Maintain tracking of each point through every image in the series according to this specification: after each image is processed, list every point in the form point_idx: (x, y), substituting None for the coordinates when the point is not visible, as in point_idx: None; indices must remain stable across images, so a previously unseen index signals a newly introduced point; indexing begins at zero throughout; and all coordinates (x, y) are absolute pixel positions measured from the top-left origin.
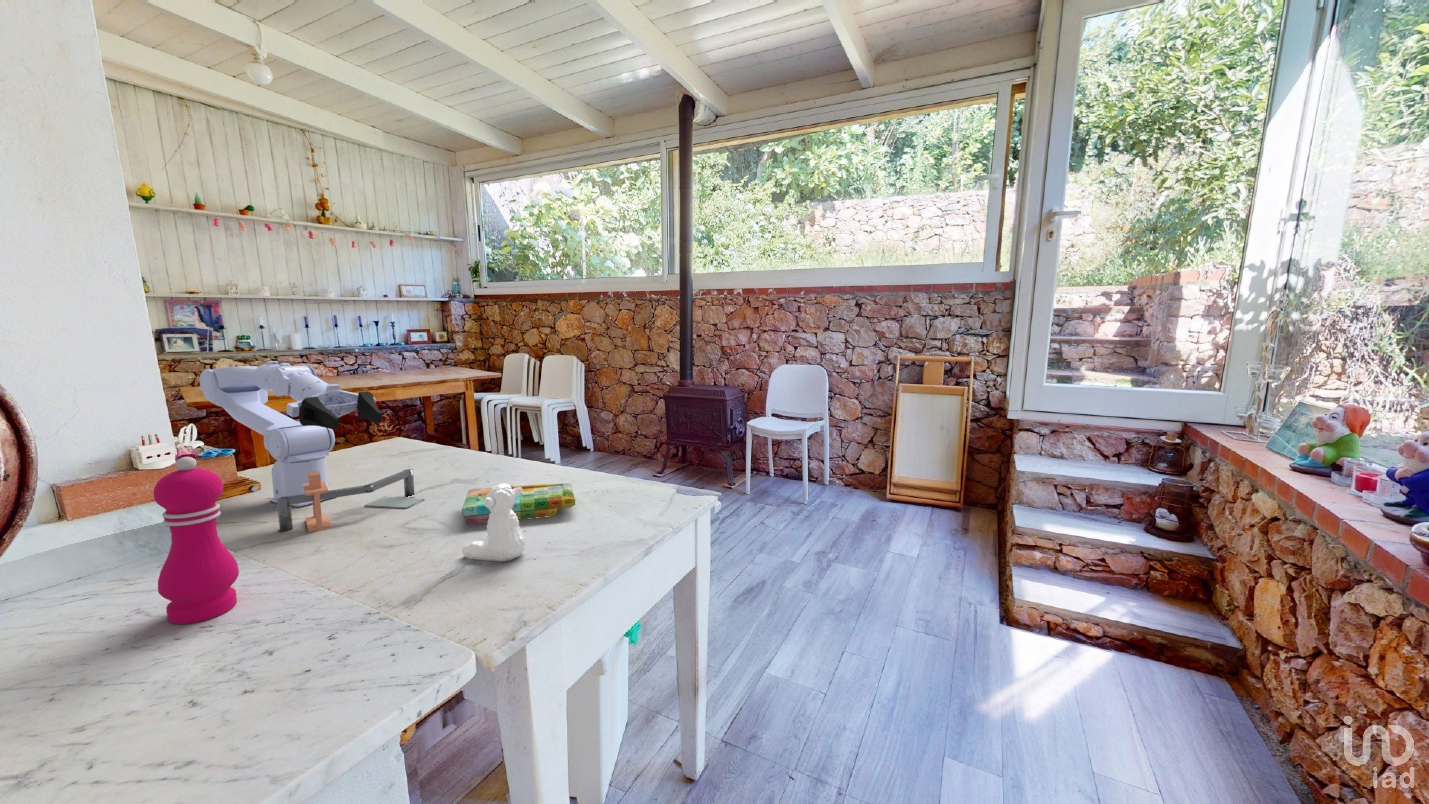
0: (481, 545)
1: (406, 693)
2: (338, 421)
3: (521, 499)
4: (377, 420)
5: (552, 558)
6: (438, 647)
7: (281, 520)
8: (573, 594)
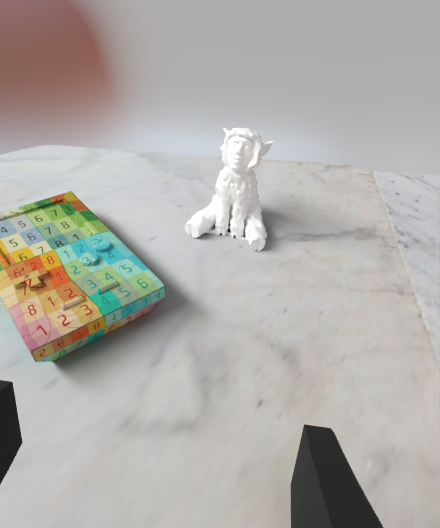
0: (257, 217)
1: (427, 177)
2: (301, 442)
3: (97, 232)
4: (17, 431)
5: None
6: (388, 187)
7: None
8: (274, 160)
